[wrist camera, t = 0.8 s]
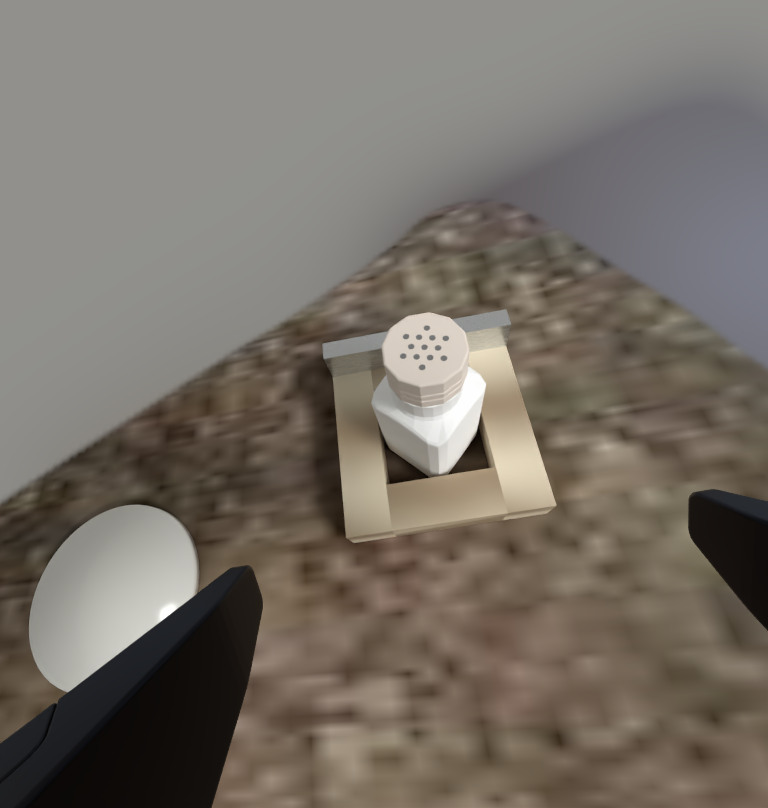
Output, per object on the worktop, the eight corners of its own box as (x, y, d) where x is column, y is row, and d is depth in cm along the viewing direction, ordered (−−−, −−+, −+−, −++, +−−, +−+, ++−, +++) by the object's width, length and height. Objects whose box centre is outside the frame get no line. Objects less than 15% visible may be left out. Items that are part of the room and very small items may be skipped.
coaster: (124, 732, 19) (115, 736, 18) (5, 635, 22) (-6, 636, 21) (231, 548, 22) (226, 547, 21) (115, 482, 25) (108, 480, 24)
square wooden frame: (546, 513, 21) (568, 495, 17) (354, 542, 21) (336, 532, 18) (497, 350, 25) (506, 309, 21) (339, 378, 26) (322, 343, 22)
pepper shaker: (481, 431, 23) (503, 333, 14) (440, 487, 22) (438, 417, 13) (423, 395, 24) (413, 287, 16) (382, 446, 23) (347, 360, 15)
